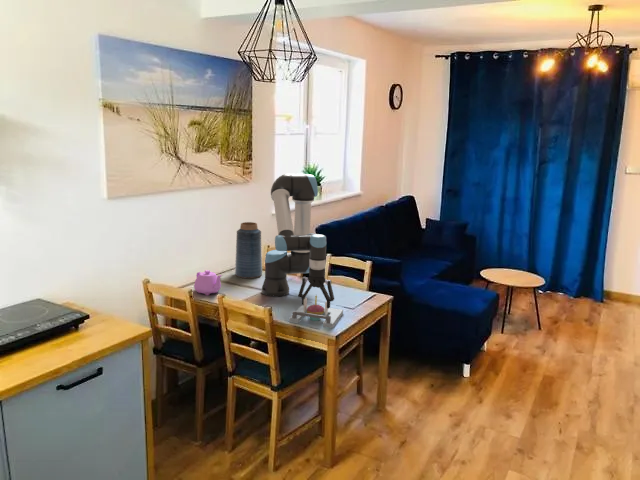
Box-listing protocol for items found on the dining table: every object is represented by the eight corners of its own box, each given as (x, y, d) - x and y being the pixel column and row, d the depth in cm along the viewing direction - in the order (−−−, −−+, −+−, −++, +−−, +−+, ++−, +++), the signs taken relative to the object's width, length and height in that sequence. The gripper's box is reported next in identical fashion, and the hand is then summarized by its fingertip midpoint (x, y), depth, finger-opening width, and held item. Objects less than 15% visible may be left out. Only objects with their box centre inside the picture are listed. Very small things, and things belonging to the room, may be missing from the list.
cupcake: (306, 315, 253) (306, 292, 251) (323, 316, 254) (324, 292, 251) (306, 322, 245) (307, 298, 242) (324, 322, 246) (325, 298, 243)
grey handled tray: (289, 321, 245) (289, 311, 244) (302, 308, 264) (302, 298, 263) (332, 328, 240) (332, 317, 238) (342, 313, 258) (343, 303, 257)
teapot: (231, 293, 282) (231, 271, 279) (211, 300, 271) (211, 277, 268) (206, 285, 294) (206, 264, 291) (186, 291, 282) (185, 270, 280)
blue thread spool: (233, 271, 323) (233, 221, 316) (260, 270, 327) (260, 221, 320) (236, 279, 307) (236, 226, 301) (263, 278, 311) (264, 226, 304)
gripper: (291, 267, 243) (290, 312, 248) (338, 272, 237) (336, 318, 242) (296, 263, 250) (295, 307, 255) (342, 268, 244) (340, 313, 249)
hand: (315, 312), depth 249 cm, fingers open, 10 cm apart
